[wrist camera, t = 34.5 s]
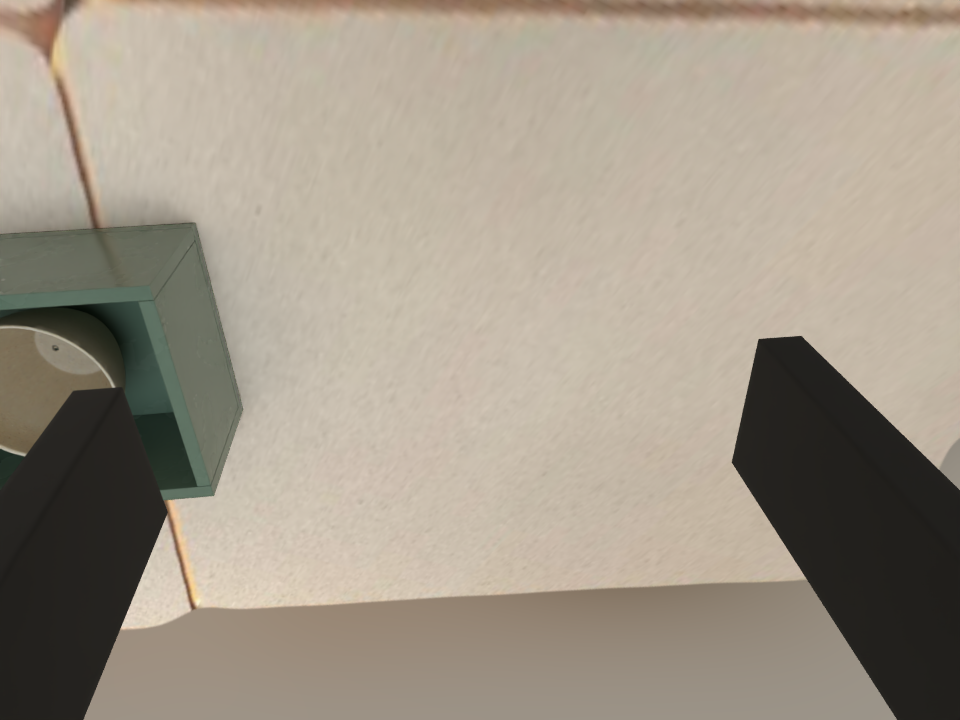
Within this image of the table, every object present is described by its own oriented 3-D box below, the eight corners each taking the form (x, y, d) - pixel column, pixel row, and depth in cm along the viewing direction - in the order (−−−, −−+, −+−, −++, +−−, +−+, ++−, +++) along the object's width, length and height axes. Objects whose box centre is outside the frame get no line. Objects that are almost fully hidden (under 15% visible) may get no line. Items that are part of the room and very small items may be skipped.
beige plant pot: (119, 419, 52) (82, 482, 46) (-22, 356, 48) (-83, 416, 42) (177, 323, 48) (145, 378, 42) (30, 247, 44) (-29, 296, 38)
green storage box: (195, 222, 46) (149, 285, 37) (243, 409, 54) (214, 496, 45) (-112, 240, 44) (-232, 310, 36) (-15, 429, 52) (-95, 523, 44)
